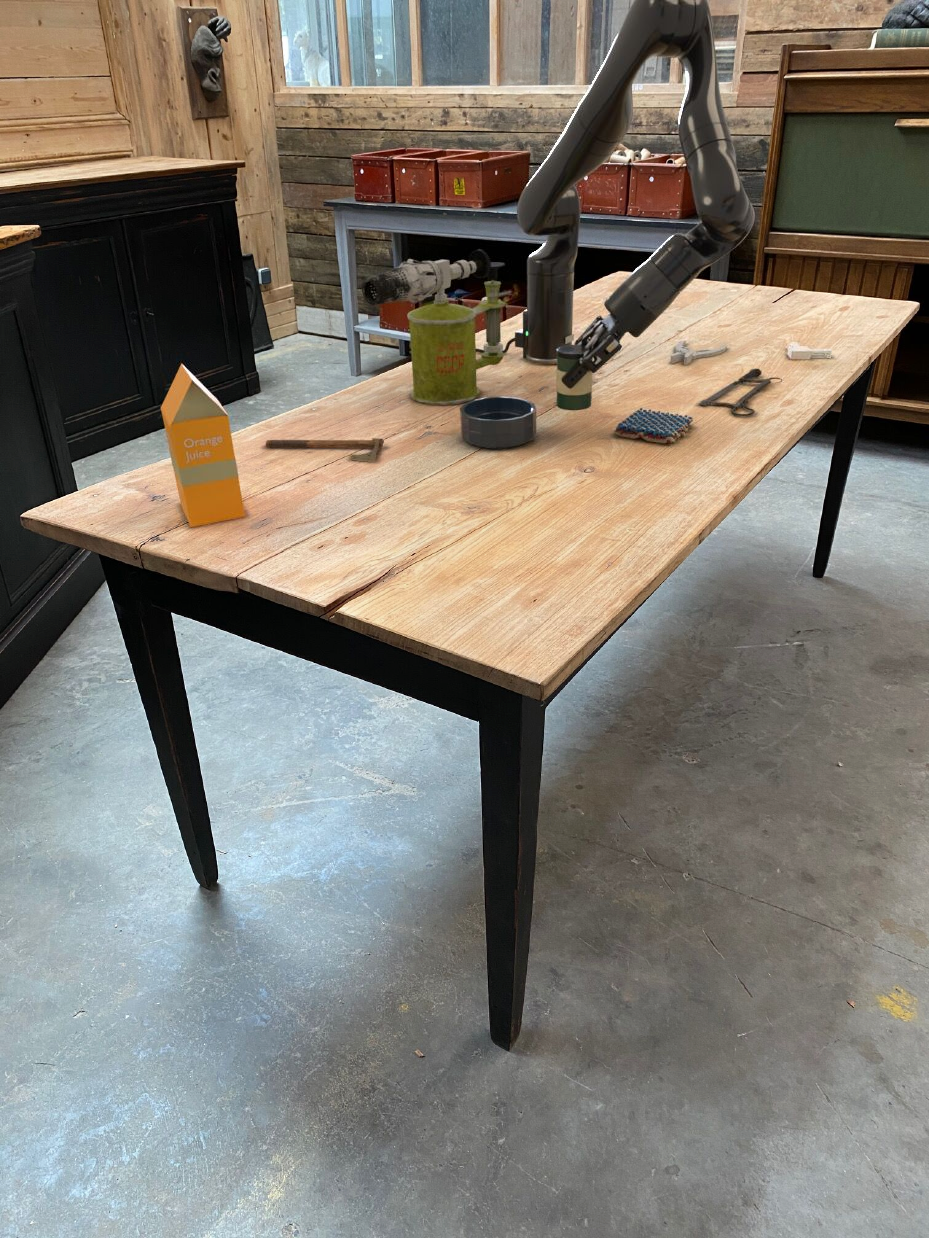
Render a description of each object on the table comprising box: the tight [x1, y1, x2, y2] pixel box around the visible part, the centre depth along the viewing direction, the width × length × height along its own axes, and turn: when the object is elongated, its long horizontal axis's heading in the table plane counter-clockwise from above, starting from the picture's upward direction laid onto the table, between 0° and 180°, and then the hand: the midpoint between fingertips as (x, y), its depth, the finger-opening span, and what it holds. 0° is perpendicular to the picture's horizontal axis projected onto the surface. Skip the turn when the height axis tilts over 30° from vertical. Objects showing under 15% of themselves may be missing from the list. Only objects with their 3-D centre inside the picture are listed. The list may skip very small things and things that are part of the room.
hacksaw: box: [699, 367, 783, 417], centre depth 169 cm, size 24×10×2 cm, turn 141°
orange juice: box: [160, 362, 246, 528], centre depth 128 cm, size 8×9×20 cm
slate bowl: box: [459, 395, 538, 449], centre depth 153 cm, size 12×12×5 cm
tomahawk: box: [265, 437, 385, 463], centre depth 151 cm, size 20×7×1 cm, turn 83°
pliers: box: [669, 339, 728, 366], centre depth 192 cm, size 10×2×15 cm
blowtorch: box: [361, 248, 508, 406], centre depth 169 cm, size 13×33×25 cm, turn 137°
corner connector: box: [786, 341, 832, 360], centre depth 190 cm, size 8×8×2 cm
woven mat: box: [613, 407, 694, 444], centre depth 154 cm, size 10×11×2 cm
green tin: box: [556, 344, 594, 412], centre depth 150 cm, size 6×6×9 cm
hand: (563, 378), depth 150 cm, fingers closed on green tin, 5 cm apart
